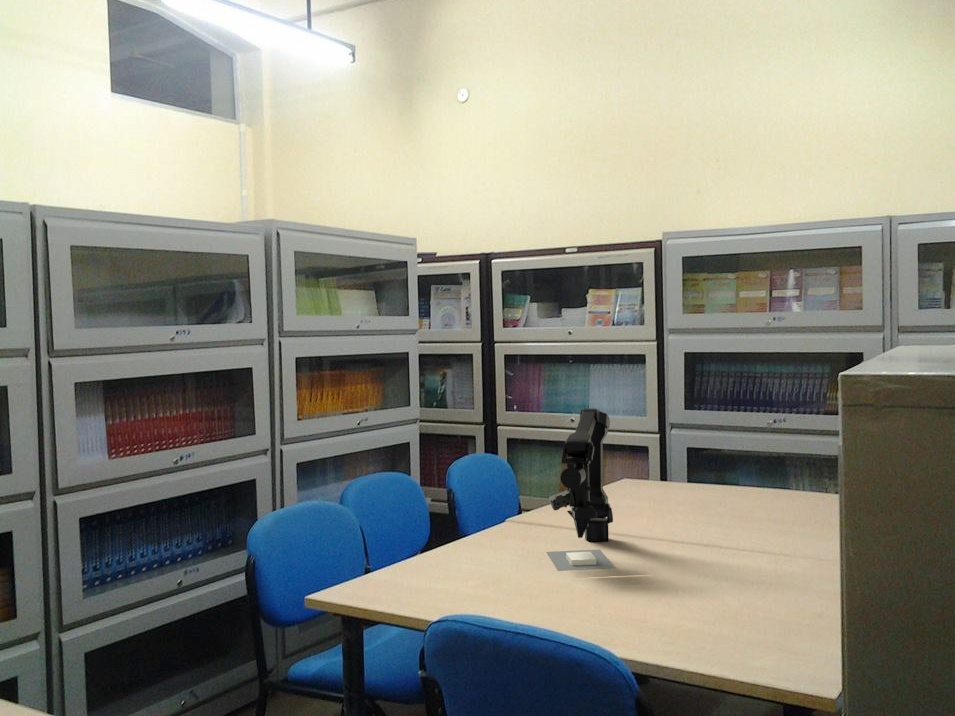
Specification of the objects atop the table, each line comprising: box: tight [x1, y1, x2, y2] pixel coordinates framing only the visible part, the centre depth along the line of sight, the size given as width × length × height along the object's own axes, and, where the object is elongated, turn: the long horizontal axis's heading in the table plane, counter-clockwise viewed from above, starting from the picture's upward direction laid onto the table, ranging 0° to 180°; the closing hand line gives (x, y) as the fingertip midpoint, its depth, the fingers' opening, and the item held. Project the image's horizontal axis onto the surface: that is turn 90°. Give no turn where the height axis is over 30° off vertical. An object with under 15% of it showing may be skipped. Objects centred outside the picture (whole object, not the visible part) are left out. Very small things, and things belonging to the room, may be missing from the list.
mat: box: [545, 549, 617, 572], centre depth 244 cm, size 16×20×1 cm
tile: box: [566, 552, 597, 566], centre depth 242 cm, size 7×2×8 cm
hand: (580, 537), depth 243 cm, fingers closed
